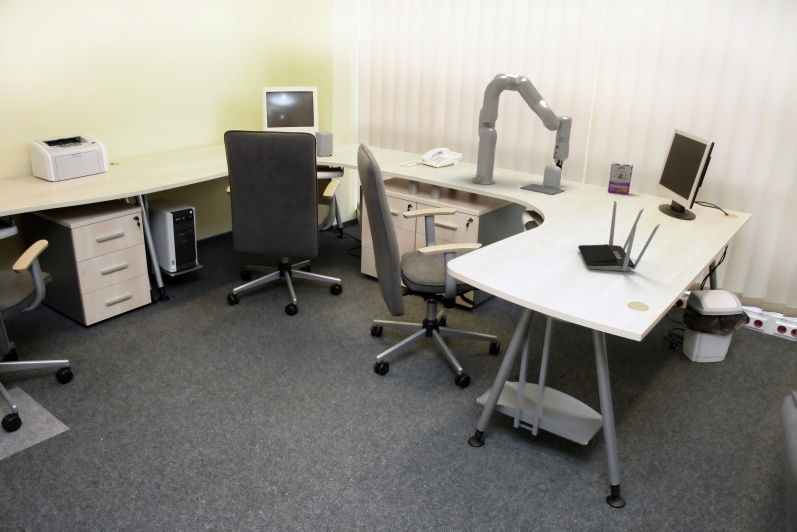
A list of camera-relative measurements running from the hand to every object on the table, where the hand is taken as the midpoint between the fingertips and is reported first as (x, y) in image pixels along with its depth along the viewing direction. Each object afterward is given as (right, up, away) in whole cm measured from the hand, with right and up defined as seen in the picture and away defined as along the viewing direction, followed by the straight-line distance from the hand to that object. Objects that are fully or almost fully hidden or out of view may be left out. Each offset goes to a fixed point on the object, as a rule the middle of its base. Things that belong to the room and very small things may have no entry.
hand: (558, 171), depth 372 cm
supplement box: (-140, +19, +59) cm, 153 cm away
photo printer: (-5, -9, -2) cm, 11 cm away
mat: (-11, -11, -9) cm, 18 cm away
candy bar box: (+31, -13, -8) cm, 35 cm away
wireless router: (-9, -52, -120) cm, 131 cm away
